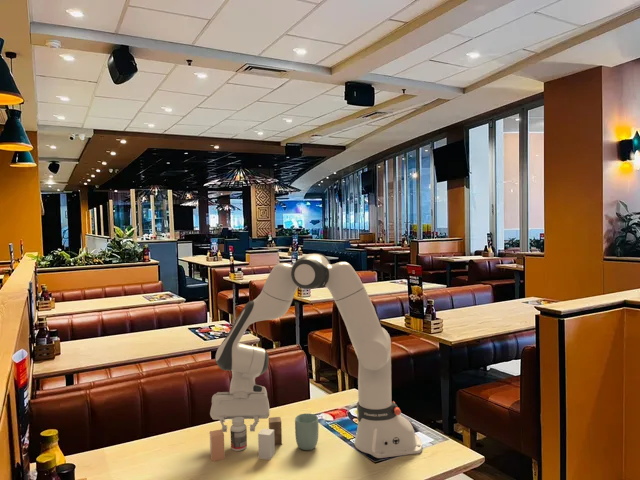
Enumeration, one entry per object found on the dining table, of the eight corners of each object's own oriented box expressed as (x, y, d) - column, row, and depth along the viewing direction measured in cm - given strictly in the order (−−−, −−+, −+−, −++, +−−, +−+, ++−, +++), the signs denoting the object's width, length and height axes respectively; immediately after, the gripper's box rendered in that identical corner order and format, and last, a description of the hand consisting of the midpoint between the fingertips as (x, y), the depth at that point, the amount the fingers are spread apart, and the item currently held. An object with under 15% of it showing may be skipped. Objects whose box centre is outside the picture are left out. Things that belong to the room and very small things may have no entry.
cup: (316, 454, 154) (315, 424, 153) (293, 452, 155) (292, 422, 155) (320, 442, 161) (320, 414, 161) (298, 441, 163) (298, 412, 162)
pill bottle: (230, 444, 161) (229, 416, 161) (246, 442, 162) (245, 414, 162) (231, 452, 156) (230, 423, 155) (247, 450, 157) (247, 421, 157)
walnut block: (280, 439, 165) (280, 416, 164) (281, 444, 161) (281, 421, 160) (269, 440, 164) (268, 417, 163) (270, 445, 160) (269, 422, 159)
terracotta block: (222, 452, 156) (222, 429, 155) (224, 458, 152) (223, 434, 151) (210, 455, 154) (209, 431, 154) (212, 461, 151) (211, 436, 150)
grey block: (274, 453, 155) (274, 429, 154) (270, 459, 151) (269, 435, 150) (263, 452, 156) (262, 428, 155) (258, 458, 152) (258, 433, 151)
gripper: (211, 388, 165) (205, 428, 156) (269, 387, 166) (267, 427, 156) (214, 396, 170) (209, 435, 161) (271, 395, 170) (269, 434, 161)
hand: (238, 431), depth 159 cm, fingers open, 8 cm apart
